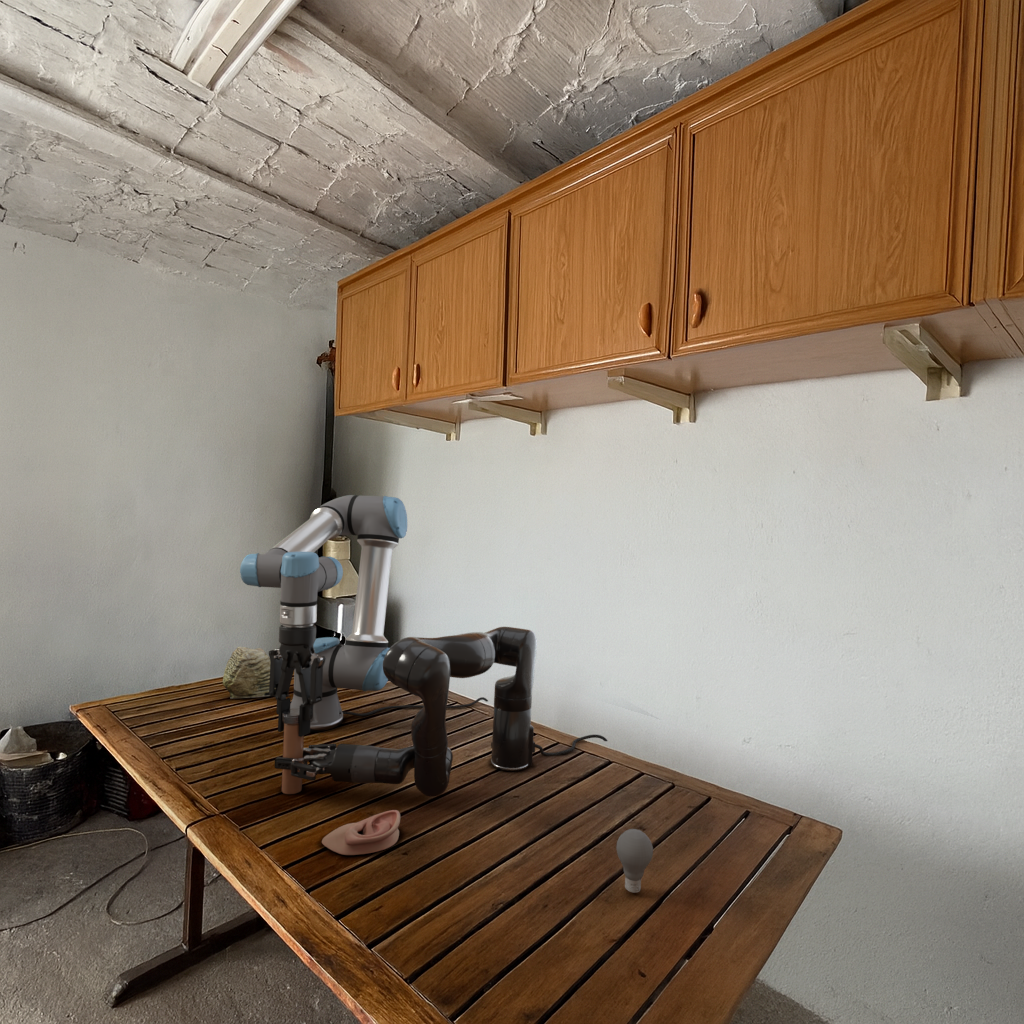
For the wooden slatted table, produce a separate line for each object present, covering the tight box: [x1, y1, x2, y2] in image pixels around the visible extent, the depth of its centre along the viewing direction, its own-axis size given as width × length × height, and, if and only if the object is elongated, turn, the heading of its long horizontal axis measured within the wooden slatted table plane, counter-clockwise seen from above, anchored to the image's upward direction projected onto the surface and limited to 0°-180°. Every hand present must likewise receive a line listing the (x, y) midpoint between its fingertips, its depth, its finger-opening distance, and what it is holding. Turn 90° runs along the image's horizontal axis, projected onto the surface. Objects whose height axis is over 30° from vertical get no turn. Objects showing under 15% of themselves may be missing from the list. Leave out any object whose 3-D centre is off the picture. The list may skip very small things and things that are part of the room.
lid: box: [282, 708, 300, 724], centre depth 136 cm, size 5×5×2 cm
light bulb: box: [615, 828, 654, 894], centre depth 106 cm, size 6×6×10 cm
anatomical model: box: [321, 809, 401, 856], centre depth 118 cm, size 13×4×12 cm
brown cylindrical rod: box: [281, 723, 305, 795], centre depth 136 cm, size 4×4×16 cm
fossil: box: [222, 646, 276, 699], centre depth 198 cm, size 9×18×15 cm, turn 132°
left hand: (293, 731), depth 136 cm, fingers closed on lid, 5 cm apart
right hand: (280, 758), depth 136 cm, fingers closed on brown cylindrical rod, 4 cm apart
